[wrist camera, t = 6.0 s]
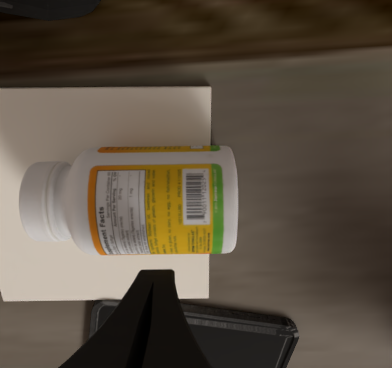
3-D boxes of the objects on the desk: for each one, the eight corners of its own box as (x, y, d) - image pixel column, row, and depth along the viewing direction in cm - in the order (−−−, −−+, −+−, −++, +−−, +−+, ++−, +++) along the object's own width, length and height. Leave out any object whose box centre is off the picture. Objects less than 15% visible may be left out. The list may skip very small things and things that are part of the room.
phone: (272, 398, 26) (85, 377, 25) (269, 384, 27) (89, 363, 26) (303, 326, 23) (92, 298, 22) (299, 314, 24) (96, 286, 23)
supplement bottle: (225, 197, 20) (68, 199, 20) (231, 123, 16) (39, 126, 16) (233, 275, 16) (39, 277, 16) (243, 200, 12) (-9, 204, 12)
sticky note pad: (210, 86, 17) (211, 87, 17) (208, 293, 23) (208, 298, 22) (-55, 88, 17) (-62, 89, 17) (7, 295, 23) (3, 301, 22)
